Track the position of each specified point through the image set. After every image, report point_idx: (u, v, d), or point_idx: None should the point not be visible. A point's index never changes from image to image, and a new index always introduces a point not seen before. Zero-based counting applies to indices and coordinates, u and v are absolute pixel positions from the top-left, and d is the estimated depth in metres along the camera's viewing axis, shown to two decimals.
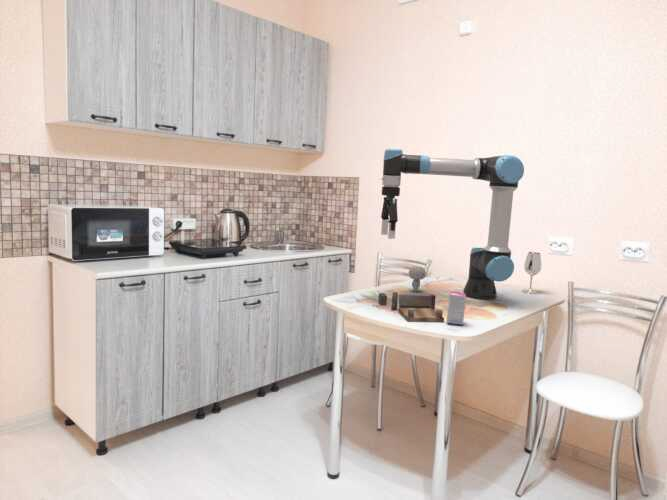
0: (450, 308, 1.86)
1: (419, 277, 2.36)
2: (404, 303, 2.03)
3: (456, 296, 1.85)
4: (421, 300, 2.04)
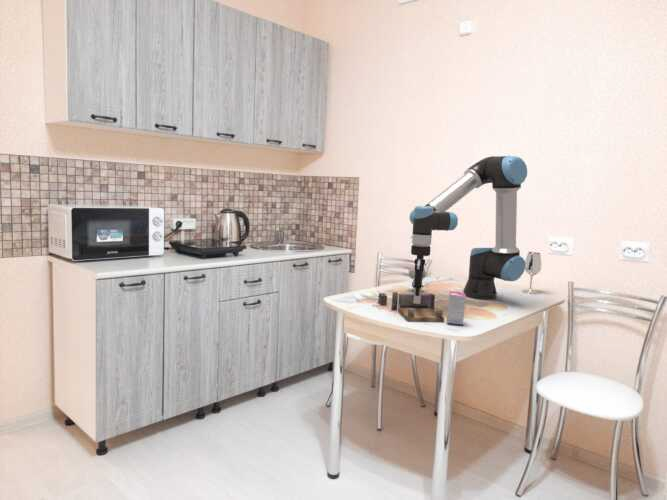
0: (450, 308, 1.86)
1: None
2: (404, 302, 2.03)
3: (456, 296, 1.85)
4: (421, 300, 2.04)
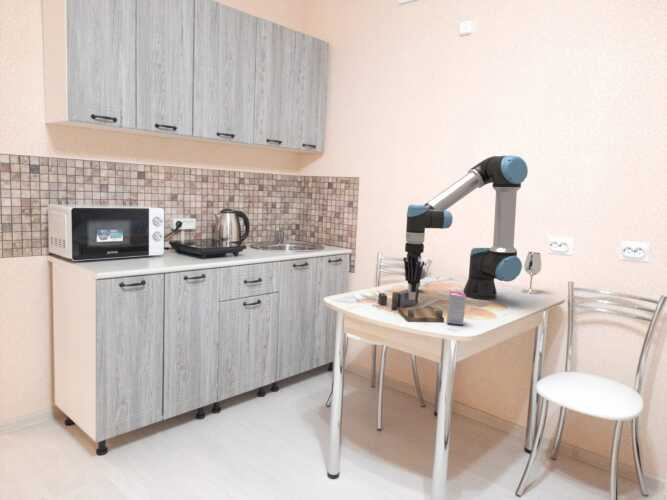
0: (450, 308, 1.86)
1: None
2: (402, 301, 2.06)
3: (456, 296, 1.85)
4: None
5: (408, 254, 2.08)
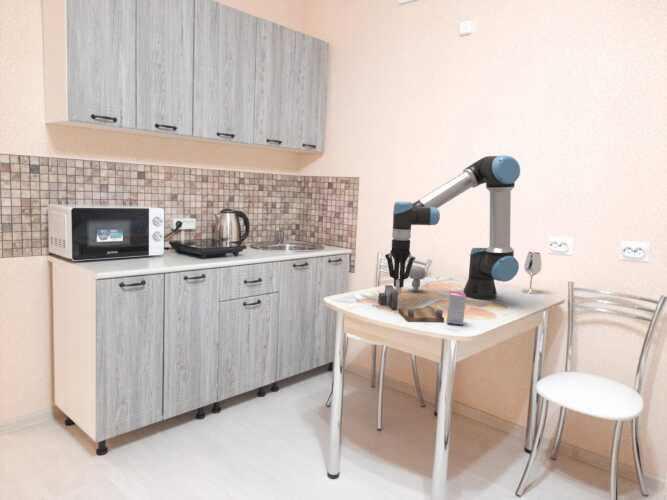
0: (450, 308, 1.86)
1: (419, 277, 2.36)
2: None
3: (456, 296, 1.85)
4: None
5: (393, 251, 2.10)
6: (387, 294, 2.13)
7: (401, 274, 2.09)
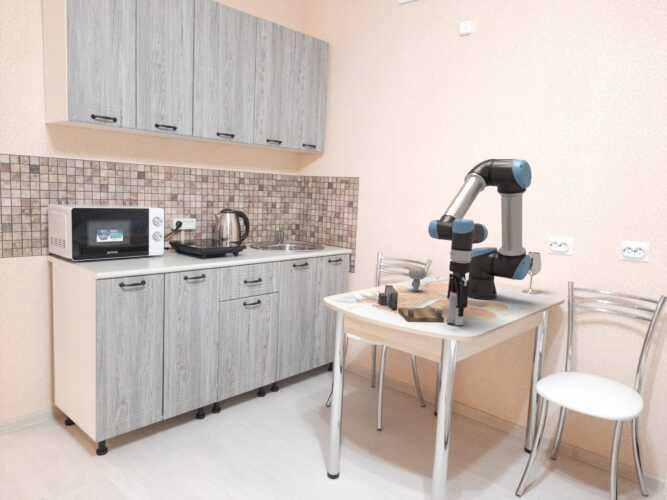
0: (450, 308, 1.86)
1: (419, 277, 2.36)
2: None
3: (456, 296, 1.85)
4: None
5: (453, 274, 1.89)
6: (387, 294, 2.13)
7: (458, 301, 1.83)
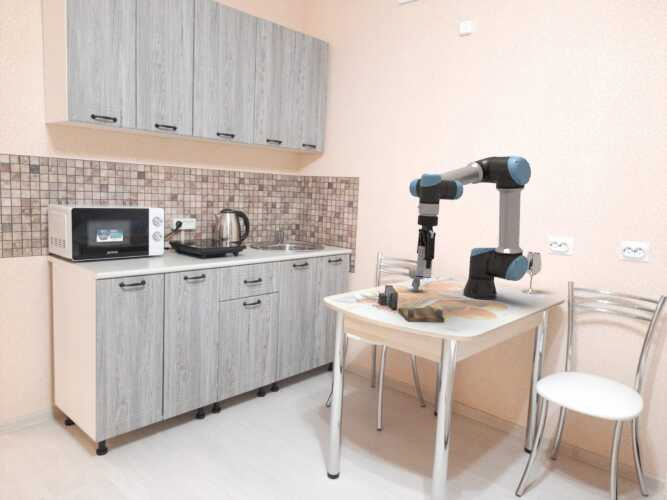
0: (418, 261, 1.90)
1: (419, 277, 2.36)
2: None
3: (424, 249, 1.89)
4: None
5: (422, 228, 1.93)
6: (387, 294, 2.13)
7: (425, 253, 1.87)
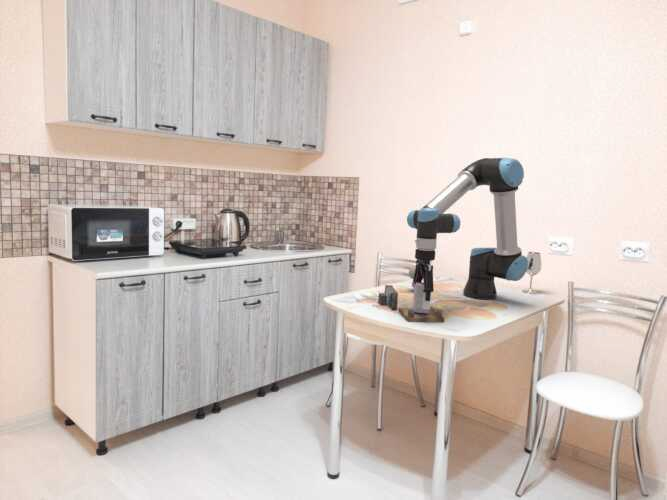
0: (416, 298, 1.92)
1: None
2: None
3: (422, 286, 1.91)
4: None
5: (419, 262, 1.95)
6: (387, 294, 2.13)
7: (424, 285, 1.87)
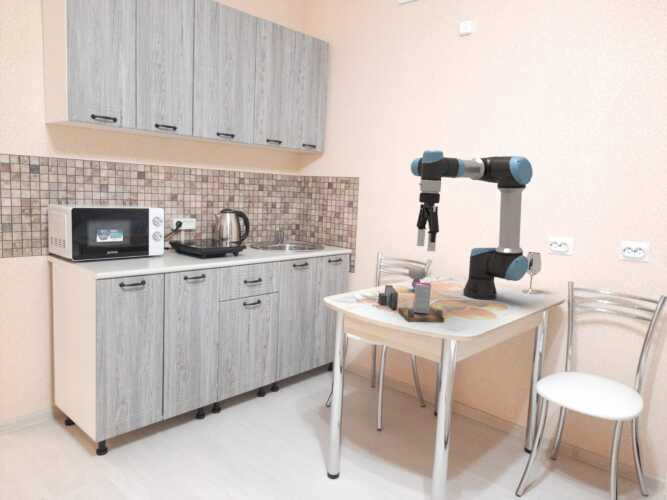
0: (416, 298, 1.92)
1: (419, 277, 2.36)
2: None
3: (422, 286, 1.91)
4: None
5: (424, 207, 1.92)
6: (387, 294, 2.13)
7: (429, 227, 1.84)
